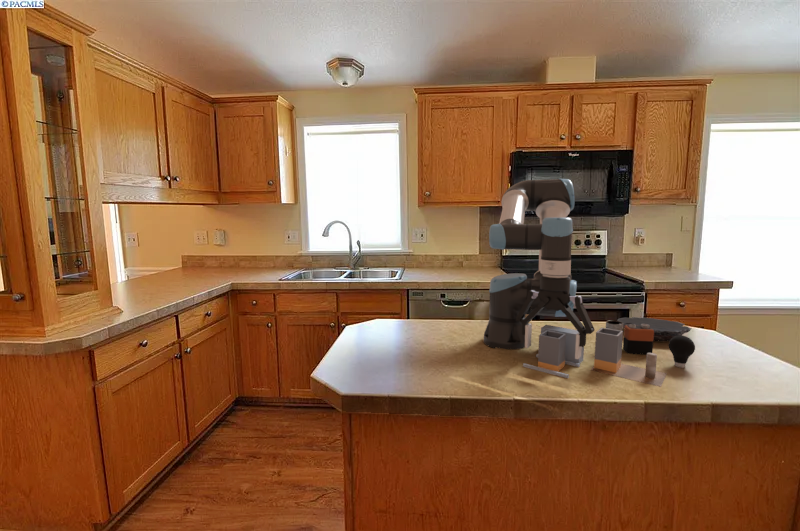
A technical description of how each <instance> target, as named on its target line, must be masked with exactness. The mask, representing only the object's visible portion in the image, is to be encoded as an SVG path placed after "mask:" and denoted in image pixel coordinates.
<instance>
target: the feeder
mask: <svg viewBox="0 0 800 531" xmlns="http://www.w3.org/2000/svg"><path fill="white" fill-rule="evenodd" d="M546 330H547V331H553V332H558V333H563V334H566V348H565V365H568V366H572V367H576V368H580V365H581V363H583V362H584V354H585V353H584V352H585V346H584V347H582V350H581V357H580V358H579V359H575V348H576V334H578V333H579V332H578V331H577V329H571V328H568V327H560V326H555V325H550V324H545V325H543V326H542V327H541V328H540V334H542V333H543V332H545V331H546ZM535 358H538V353H536V355H535ZM522 367H524V368H526V369H530V370H534V371H537V372H542V373H545V374H550V375H554V376H556V377H557V376H558V377H561V378H565V379H569V378H570V374H568V373H565V372H560V371H559V372H557V371H553V370H549V369H545V368H541V367H538V365H537V366H536V365H532V364H528V363H525V362H524V363H522Z"/></svg>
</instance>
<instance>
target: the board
mask: <svg viewBox="0 0 800 531" xmlns="http://www.w3.org/2000/svg"><path fill="white" fill-rule="evenodd" d="M616 321H620V322H622V323H623V329H624V327H625V325H630V324H635V325H636V326H641V324H648V325H650V326H649V327H650V328H651V329H653V330H654V338H653V342H658V343H659V342H661V343H663V342H669V341H670V340H671V339H672V338H673V337H675V336H679V335H682V336H684V335H685V334H687V333H689V332H690V331H691V330H692V327H689V326H685V323H682V322H679V321H673V320H672V321H671V320H666V319H661V318H660V319H659V318H652V317H637V316H632V317H621V318H618V319H617V320H616Z"/></svg>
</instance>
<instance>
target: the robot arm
mask: <svg viewBox="0 0 800 531" xmlns="http://www.w3.org/2000/svg"><path fill="white" fill-rule="evenodd" d="M575 200H576V199H575V189H574V185H573V182H572V181H571V179H569V178H560V177H559V178H554V179H527V180H522V181H519V182H517V183H515V184H513V185H511V186H510V187H509V188H508V189H507V190H506V191H505V192H504V193H503V195H502V197H501V202H500V203H501V207H502V209H501V213H500V219H499V223H497V224H496V223H494V224H491V225H490V226H489V233H488V237H489V238H488V241H489V247H490V248H491V249H497V250H501V251H502V250H503V251H504V250H526V251H527V250H528V251H529V250H533V251H538V270H537V271H536V272H535V273H534V274H533V278H528V276H527V274H526V273H520V272H519V273H518V272H515V273H513V272H512V273H506V274H505V273H504V274H500V275H496V276H494V277H492V278H491V279H490V282H489V289H488V292H489V310H488V311H489V312H488V322H487V325H486V328H485V331H484V334H483V343H484V344H485V345H486V346H487V347H490V348H493V349H502V350H520V349H528V348H530V347H531V346H532V334H533V332H532V330H533V329H532V328H533V324H532V323H530V322H531V321H532V320H533V319H534V318H535V317H536V316H544V317H545V316H547V317H554V318H555V317H556V318H557V317H565V318H566V317H567V319H568V320H569V322H570V323H571V324H572V326H573V327H574V328H575V330H577V331H578V332H579V333H578V334H576V348H575V359H579V358H580V357H581V350H582V347H584V348H585V346H586V344H587V335H591V334H592V333H594V332H595V327H594V324H593V322H592V320H591V318H590V316H589V314H588V312H587V310H586V307H585V305H584V299H583V295H580V294H579V295H576V294H577V287H578V284H577V283H578V281H577V280H575V279H572V273H571V272H572V271H571V268H572V266H571V265H572V244H573V232H574V228H573V219H572V218H571V217H568V215H570V212H571V211H573V210H574V208H575V202H576V201H575ZM525 212H535V214H536V216H537V217H538V218H539V223H525V216H526V213H525ZM574 307H575V309H576V311H577V313H578V315H579V317H580V319H579V317H578V316H577V315H576V313H574Z"/></svg>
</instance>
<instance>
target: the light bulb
mask: <svg viewBox="0 0 800 531" xmlns="http://www.w3.org/2000/svg"><path fill="white" fill-rule="evenodd" d="M694 342H695V341H693V340H692V339H691V338H690V337H688V336H687V335H679V336H675V337H673V338H672V339H671V340H670V341H668V350H669V351H670V353H671V354H672V356H673V362H674V363H673V364H674V366H675V367H677V368H682V369H683V368H685V367H686V365H687V362H688V360H689V357H691V356H692V355H693V354H694V352H695V350H696V346H695V343H694Z"/></svg>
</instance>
